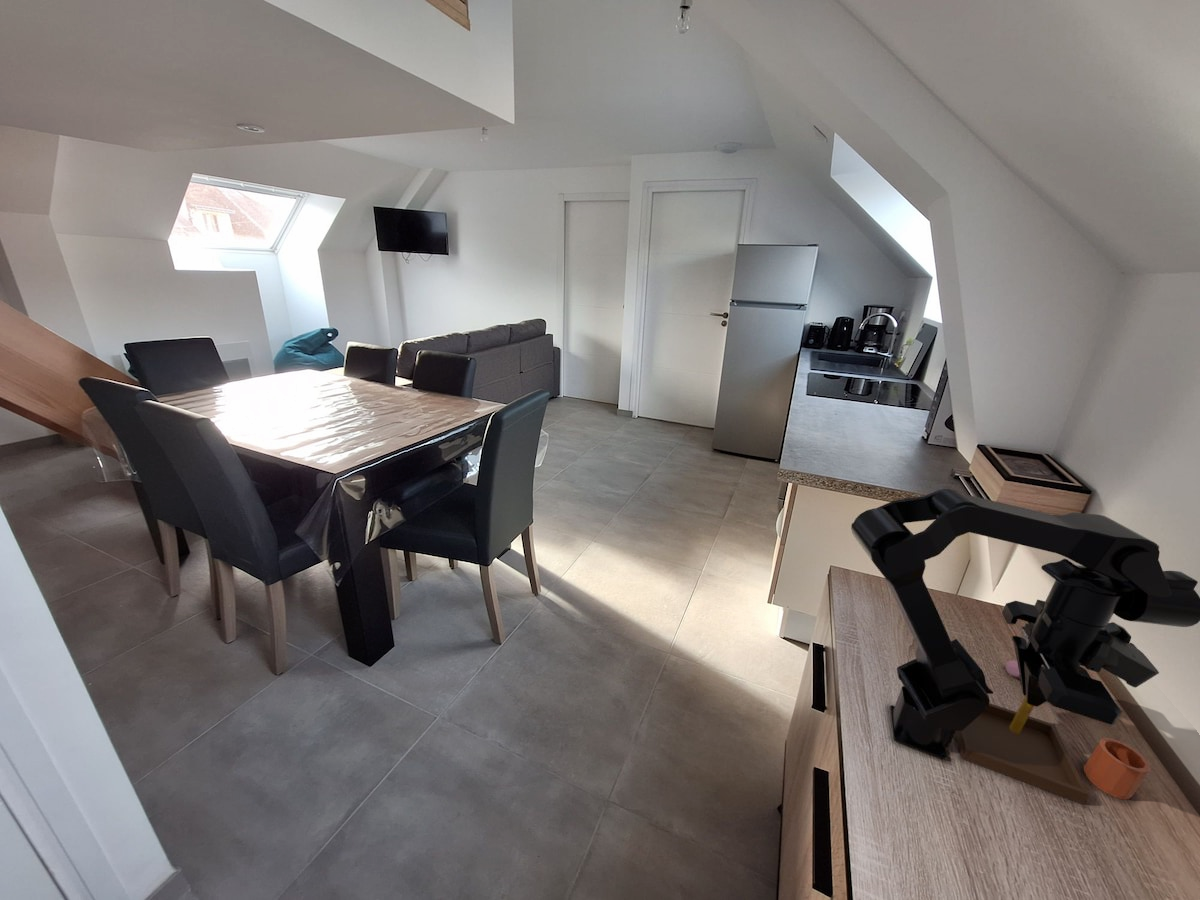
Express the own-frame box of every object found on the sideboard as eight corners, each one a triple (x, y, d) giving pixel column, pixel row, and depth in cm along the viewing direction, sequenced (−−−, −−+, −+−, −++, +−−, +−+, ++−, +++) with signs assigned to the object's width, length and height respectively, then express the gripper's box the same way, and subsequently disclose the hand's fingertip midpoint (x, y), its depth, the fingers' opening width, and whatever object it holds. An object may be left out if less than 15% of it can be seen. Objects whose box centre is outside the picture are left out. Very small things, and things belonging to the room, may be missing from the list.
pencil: (1010, 732, 65) (1034, 685, 62) (1007, 725, 67) (1030, 679, 63) (1021, 735, 65) (1045, 689, 62) (1018, 728, 66) (1042, 682, 63)
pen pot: (1092, 789, 61) (1110, 761, 60) (1077, 759, 65) (1093, 732, 63) (1138, 806, 60) (1158, 778, 58) (1120, 774, 64) (1138, 747, 62)
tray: (961, 758, 65) (966, 748, 64) (945, 698, 74) (949, 689, 74) (1083, 804, 60) (1089, 794, 59) (1049, 733, 69) (1054, 724, 68)
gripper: (1218, 691, 47) (1147, 790, 53) (1121, 589, 63) (1075, 674, 68) (1077, 651, 51) (1025, 747, 57) (1020, 566, 67) (984, 647, 73)
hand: (1029, 700), depth 64 cm, fingers closed on pencil, 1 cm apart
